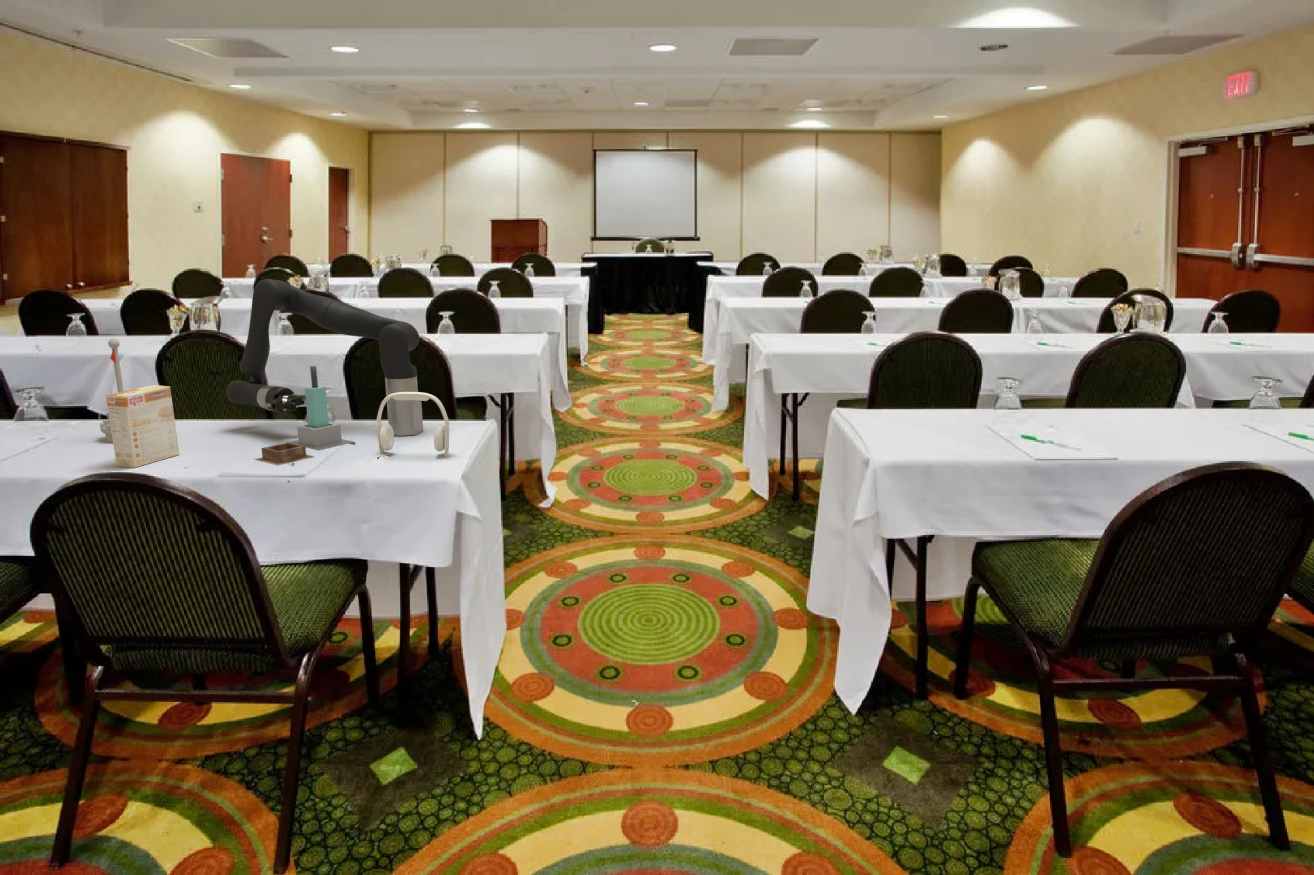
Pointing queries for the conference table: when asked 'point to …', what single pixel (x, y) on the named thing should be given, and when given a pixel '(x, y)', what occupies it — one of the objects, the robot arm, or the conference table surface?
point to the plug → (316, 403)
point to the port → (320, 437)
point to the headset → (386, 430)
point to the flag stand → (115, 358)
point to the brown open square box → (283, 453)
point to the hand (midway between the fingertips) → (308, 404)
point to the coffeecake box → (142, 425)
